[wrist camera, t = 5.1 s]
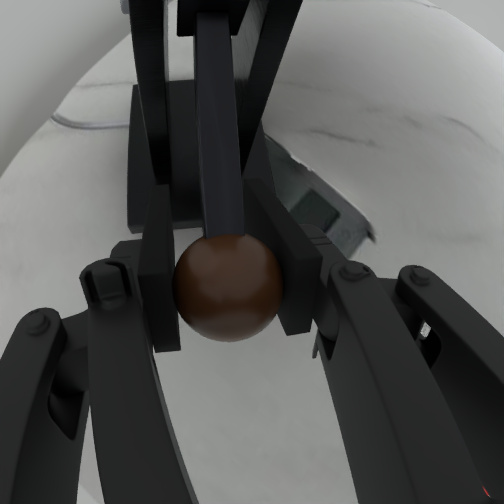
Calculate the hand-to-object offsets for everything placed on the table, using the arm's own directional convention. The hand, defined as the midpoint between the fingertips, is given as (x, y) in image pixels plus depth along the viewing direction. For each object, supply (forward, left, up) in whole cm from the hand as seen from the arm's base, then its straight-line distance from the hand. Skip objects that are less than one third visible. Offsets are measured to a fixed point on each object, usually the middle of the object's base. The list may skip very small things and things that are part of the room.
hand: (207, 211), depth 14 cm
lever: (0, +1, +4) cm, 4 cm away
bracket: (0, +6, -4) cm, 7 cm away
